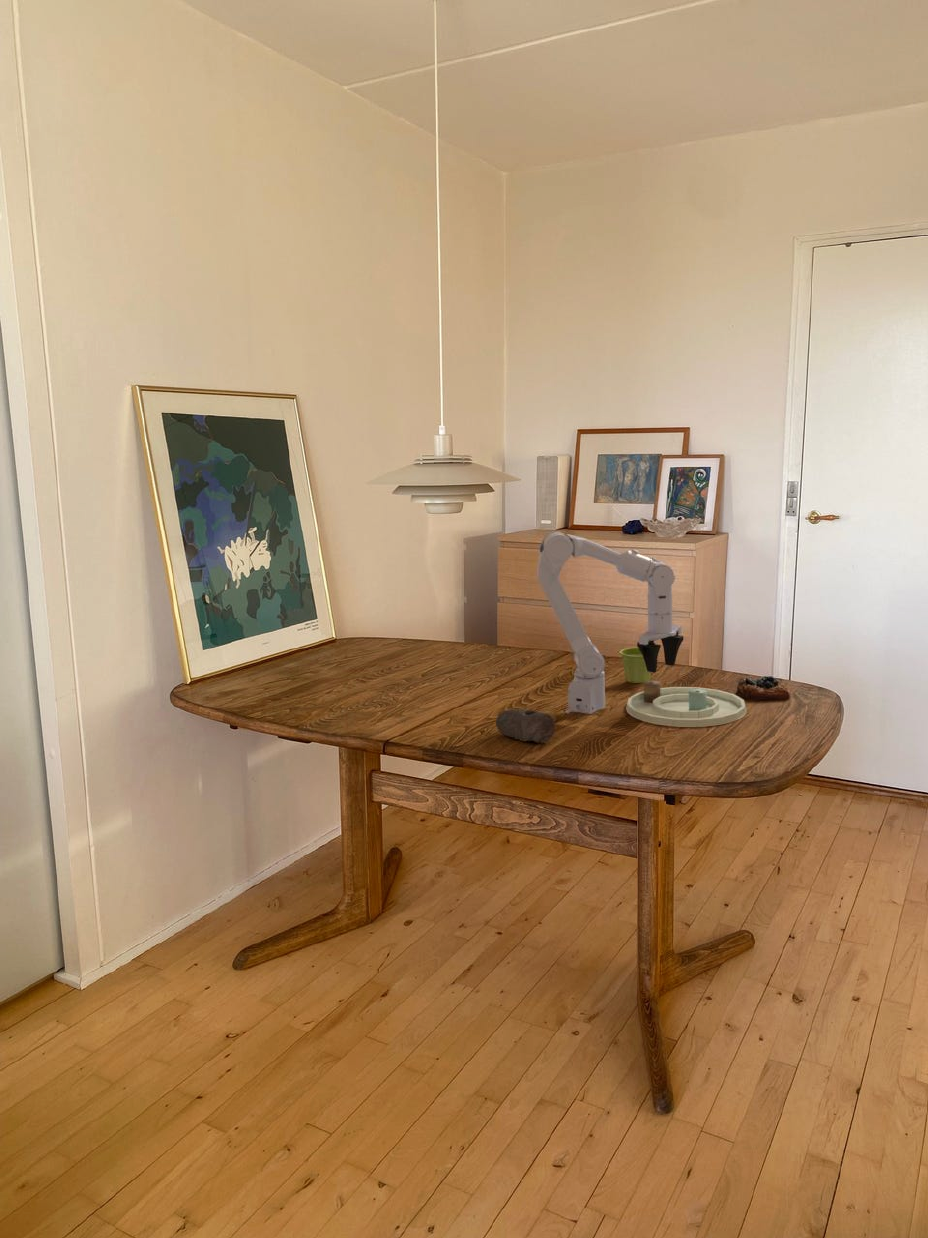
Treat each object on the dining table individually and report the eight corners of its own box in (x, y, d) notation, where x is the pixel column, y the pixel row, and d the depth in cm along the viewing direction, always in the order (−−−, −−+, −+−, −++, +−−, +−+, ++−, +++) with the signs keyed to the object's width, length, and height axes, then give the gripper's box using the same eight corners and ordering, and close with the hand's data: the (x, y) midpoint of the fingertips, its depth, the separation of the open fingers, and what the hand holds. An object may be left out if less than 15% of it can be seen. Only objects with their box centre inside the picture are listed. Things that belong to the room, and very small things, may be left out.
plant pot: (654, 678, 252) (654, 646, 250) (658, 687, 243) (657, 655, 241) (619, 679, 253) (618, 647, 252) (621, 688, 244) (621, 656, 242)
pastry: (732, 694, 235) (732, 671, 234) (780, 692, 234) (780, 669, 233) (744, 707, 224) (744, 683, 223) (794, 705, 224) (795, 681, 222)
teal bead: (702, 713, 216) (702, 694, 215) (686, 711, 219) (686, 692, 218) (709, 709, 219) (709, 690, 219) (692, 706, 222) (692, 688, 221)
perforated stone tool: (489, 736, 211) (488, 706, 210) (504, 730, 215) (503, 701, 213) (542, 749, 201) (541, 718, 200) (557, 742, 205) (556, 712, 203)
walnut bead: (656, 703, 226) (656, 685, 225) (641, 701, 228) (640, 683, 227) (663, 699, 229) (663, 681, 228) (648, 697, 231) (647, 679, 230)
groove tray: (721, 738, 202) (721, 726, 202) (606, 720, 218) (605, 710, 217) (762, 704, 224) (763, 694, 223) (655, 691, 240) (655, 681, 239)
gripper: (656, 619, 215) (657, 677, 217) (691, 609, 224) (692, 664, 227) (631, 616, 220) (632, 672, 222) (666, 606, 229) (667, 660, 232)
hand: (660, 668), depth 225 cm, fingers open, 7 cm apart
